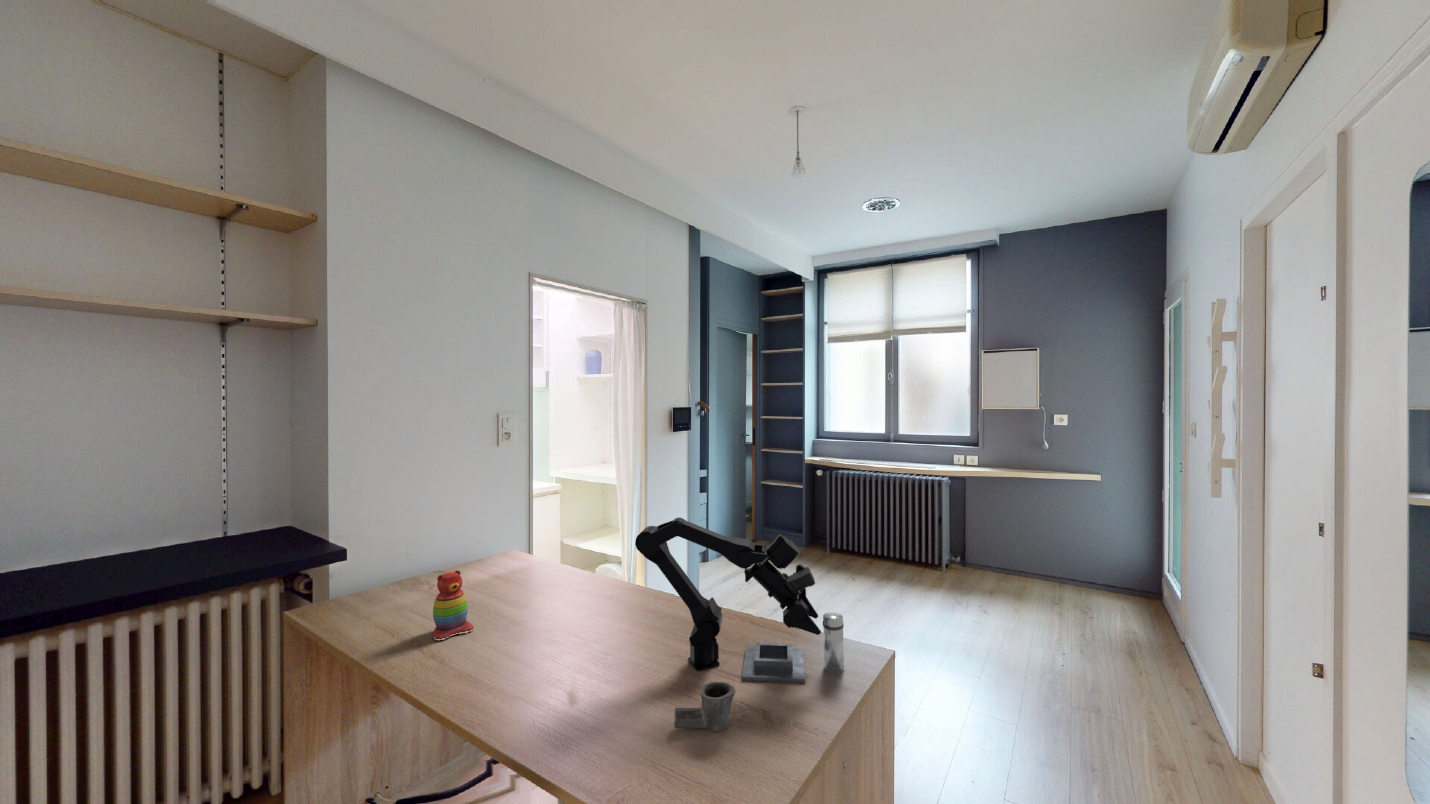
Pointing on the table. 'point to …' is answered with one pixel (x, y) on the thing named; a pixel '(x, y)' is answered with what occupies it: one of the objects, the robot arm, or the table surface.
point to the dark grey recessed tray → (774, 663)
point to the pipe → (708, 709)
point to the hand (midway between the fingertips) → (818, 625)
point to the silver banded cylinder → (833, 642)
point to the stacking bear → (450, 606)
